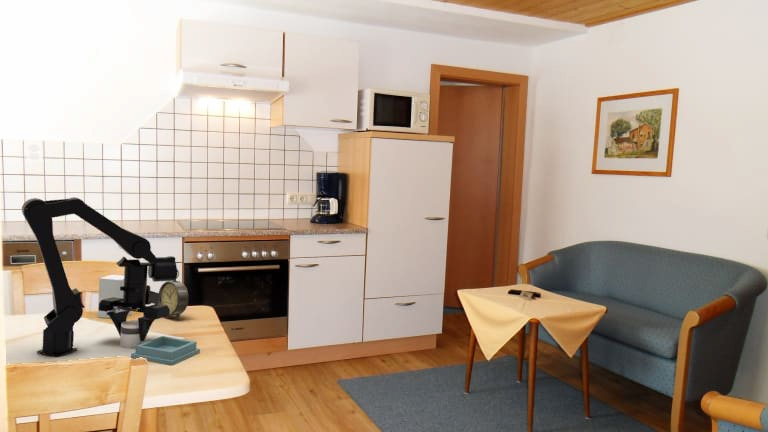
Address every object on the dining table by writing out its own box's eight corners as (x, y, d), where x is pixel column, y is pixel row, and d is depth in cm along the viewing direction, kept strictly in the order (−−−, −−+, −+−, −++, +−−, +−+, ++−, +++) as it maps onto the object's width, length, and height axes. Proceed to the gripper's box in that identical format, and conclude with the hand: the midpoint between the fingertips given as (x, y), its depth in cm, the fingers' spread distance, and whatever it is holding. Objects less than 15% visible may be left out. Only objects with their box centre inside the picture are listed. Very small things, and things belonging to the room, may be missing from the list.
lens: (134, 349, 153) (135, 327, 153) (114, 346, 155) (115, 324, 155) (149, 343, 159) (150, 322, 159) (130, 340, 161) (131, 319, 161)
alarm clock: (156, 315, 189) (158, 266, 188) (170, 313, 194) (173, 265, 193) (175, 322, 183) (178, 271, 182) (190, 319, 187) (193, 270, 186)
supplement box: (131, 314, 188) (133, 276, 188) (119, 319, 181) (121, 279, 180) (110, 312, 189) (111, 274, 188) (96, 317, 182) (98, 277, 181)
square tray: (171, 365, 143) (172, 353, 143) (130, 357, 147) (131, 346, 146) (199, 352, 155) (200, 341, 155) (161, 345, 158) (162, 335, 158)
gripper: (183, 282, 161) (180, 337, 162) (127, 274, 166) (124, 327, 167) (157, 288, 151) (154, 347, 152) (98, 279, 156) (95, 337, 157)
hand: (132, 339), depth 157 cm, fingers closed on lens, 6 cm apart
